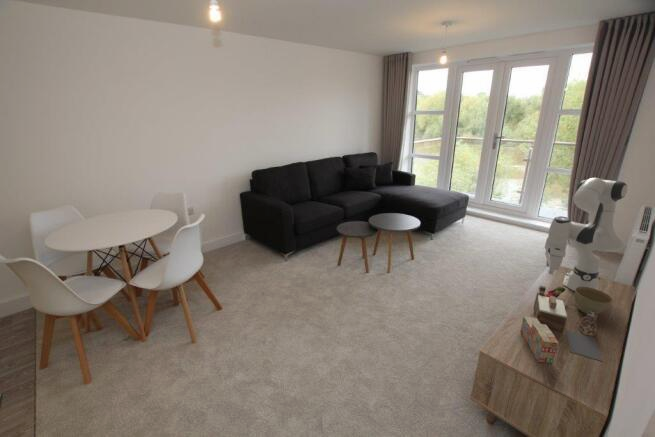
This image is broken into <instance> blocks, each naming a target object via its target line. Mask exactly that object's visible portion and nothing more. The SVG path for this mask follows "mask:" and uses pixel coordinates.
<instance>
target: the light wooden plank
mask: <svg viewBox="0 0 655 437" xmlns="http://www.w3.org/2000/svg"><path fill="white" fill-rule="evenodd" d="M546 289H547V288H546V286H543V285H538V292H539V293H542V294H546V293H545V292H546Z"/></svg>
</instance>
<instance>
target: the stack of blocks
mask: <svg viewBox="0 0 655 437" xmlns="http://www.w3.org/2000/svg"><path fill="white" fill-rule="evenodd" d="M520 333H521V334H522V337H523V338H524V340H525V341H526V343H527V345H528V346H529V348H530V350H531V352H532V354H533V356H534V357H535V359H536V362H539V363H544V364H546V363H547V364H553V363H554V360H555V357H556V354H557V351H558V347H559V344H560V342H559V341H558V339H557V338H556V335H555V334H554V333H553V332H552V330H551V329H549V328H548V327H547V325H545V324H541V323H540V322H539V321H538V319H537V318H535V317H534V316H533V317H532V316H531V317H530V316H523V317H522V324H521V327H520Z"/></svg>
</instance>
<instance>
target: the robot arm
mask: <svg viewBox="0 0 655 437" xmlns="http://www.w3.org/2000/svg"><path fill="white" fill-rule="evenodd" d="M627 193H628V184H626V183H625V182H624V181H621V180H609V179H602V178H599V177H590V178H588V179H584V180H581V181H580V182H578V184H577V186H576V192H575V193H574V195H573V199H572V200H573V203H574V205H575V206H576V207H577V208H578V209H580V210H582V211H584V212H585V213H587V214H588V216H587V217H588V218H587V221H588V223H580V222H577V221H573V220H572V219H571V218H569V217H567V216H562V215H561V216H560V215H559V216H555V217H553V219H552V221H551V223H550V226H549V229H548V236H547V238H546V240H545V243H544V244H545V245H544V250H545V252H544V254H545V257H546V264H545V265H546V266H545V267H548V268H549V269H548V274H549V275H553V274H554V272H555V271H558V270H559V269H560V268H561V266H562V265H561V264H562V262H563V259H564V258H565V256H566V251H567V250H566V249H567V245H568V242H569V244H570V245H571V246H572V247H573V248H574V249H575V251H576V252H577V259H576V264H575V266H574V267H573V270H570V272H566V274H565V275H564V276H563V277H564V278H563V282H562V285H563V287H565V288H566V287H567V288H569V289H570V290H572V291H573V292H575V289H576V288H577V287H589V288H594V289H597V290H599V288H598V287H599V284H600V280H599V279H598V276H599V270H600V268H601V264H602V260H601V258H600V257H599V256H597V255H596V254H595V253H593V252H594V251H600V252H606V253H608V252H609V253H610V252H611V253H612V252H615V253H616V252H619V251H620V250H622V249H623V247H624V243H625V242H624V239H623V238H622V236H620V235H619V234H618V233H617V232H616V231H615V229H614V216H615V212H616V206H617V202H618V201H619V200H621V199H623V198H625V197H626V194H627Z"/></svg>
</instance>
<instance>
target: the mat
mask: <svg viewBox="0 0 655 437" xmlns="http://www.w3.org/2000/svg"><path fill="white" fill-rule="evenodd" d="M565 334H566V339H567V343H568V348H569V352H570V353H573V354H576V355H580V356H583V357H585V358H589V359H593V360H596V361H599V362H604V361H603V358H602V355H601V352H600V349H599V345H598V343H597V340H596V338H595V337H591V336H589V335H585V334H580V333H578V332H577V333H576V332H572V331H570V330H565Z"/></svg>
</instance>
